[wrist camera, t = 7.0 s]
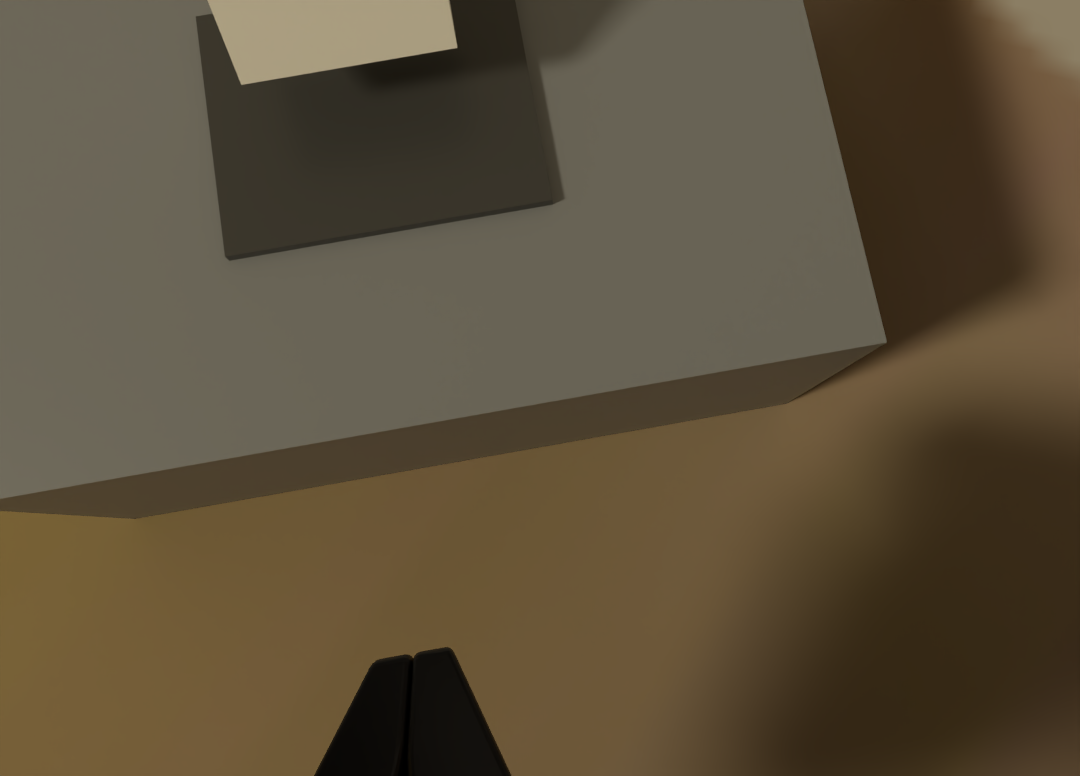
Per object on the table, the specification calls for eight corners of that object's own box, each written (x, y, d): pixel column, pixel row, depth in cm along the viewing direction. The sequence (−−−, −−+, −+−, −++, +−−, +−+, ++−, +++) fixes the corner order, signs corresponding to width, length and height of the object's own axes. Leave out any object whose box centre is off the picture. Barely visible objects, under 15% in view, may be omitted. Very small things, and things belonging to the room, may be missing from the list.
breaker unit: (786, 403, 20) (891, 339, 13) (134, 518, 19) (-60, 507, 13) (690, -24, 21) (745, -254, 15) (91, 78, 21) (-100, -112, 15)
